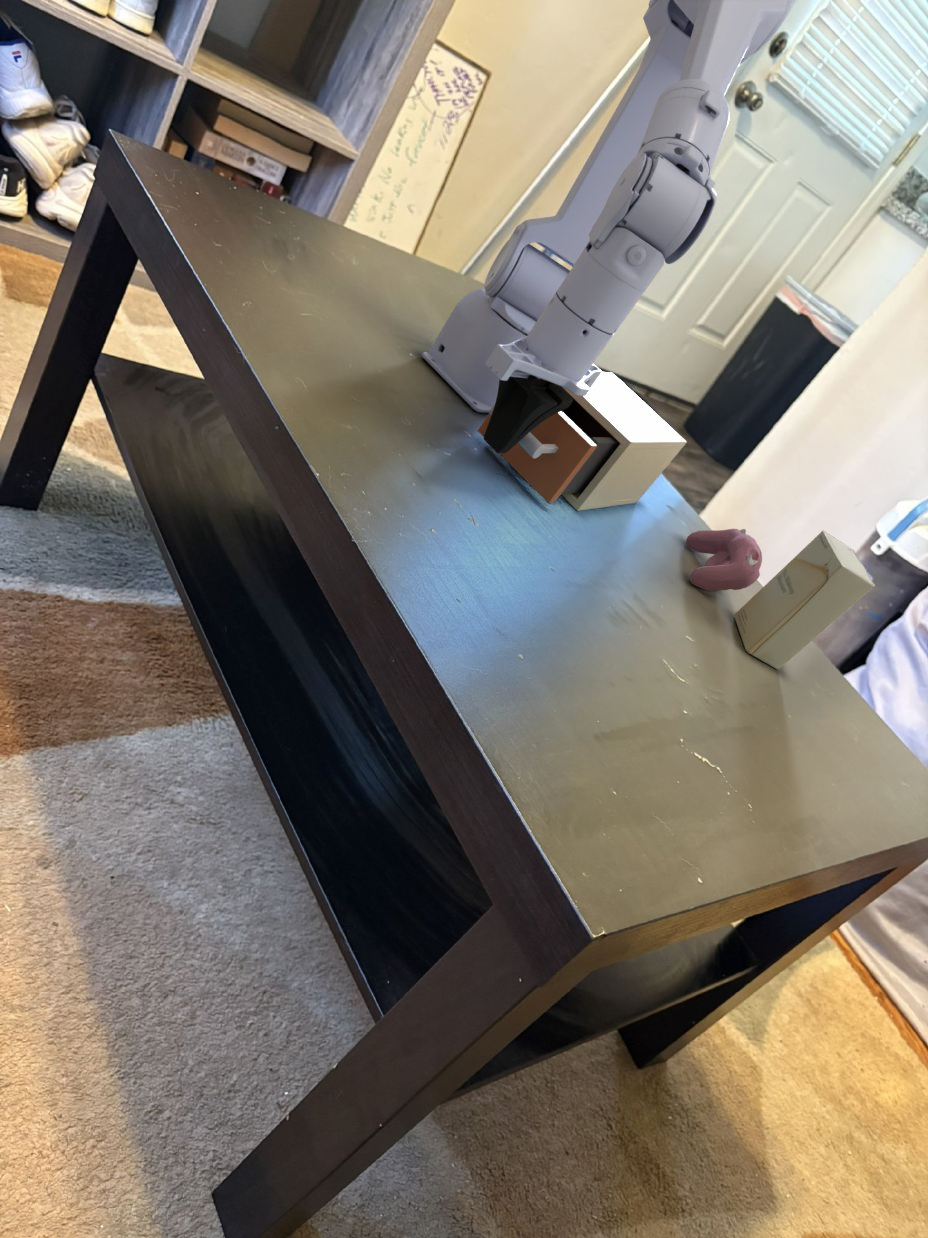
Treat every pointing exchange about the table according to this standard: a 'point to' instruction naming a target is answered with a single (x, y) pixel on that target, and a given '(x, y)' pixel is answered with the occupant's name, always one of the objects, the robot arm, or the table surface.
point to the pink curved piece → (725, 559)
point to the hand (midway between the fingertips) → (494, 445)
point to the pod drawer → (561, 452)
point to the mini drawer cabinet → (625, 445)
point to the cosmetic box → (802, 600)
